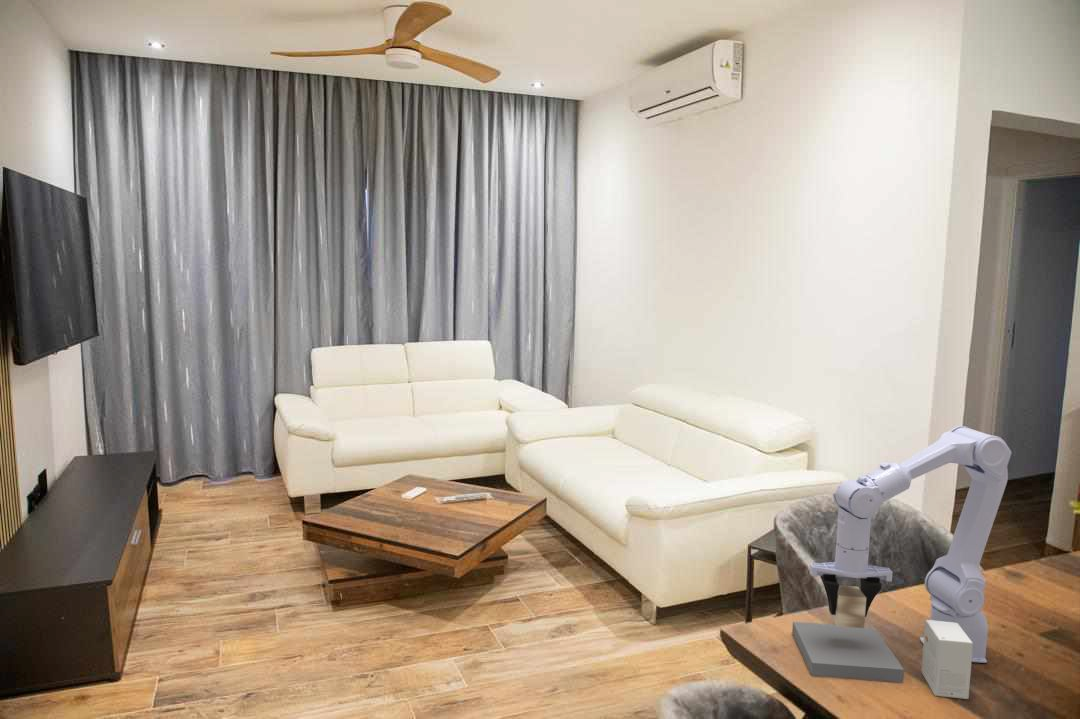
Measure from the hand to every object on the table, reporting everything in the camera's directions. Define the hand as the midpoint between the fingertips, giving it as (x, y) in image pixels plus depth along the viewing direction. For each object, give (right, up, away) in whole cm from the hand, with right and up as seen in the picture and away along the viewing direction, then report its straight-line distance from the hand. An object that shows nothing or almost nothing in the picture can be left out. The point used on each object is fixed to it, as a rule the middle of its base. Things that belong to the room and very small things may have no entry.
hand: (847, 613), depth 143 cm
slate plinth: (0, -9, +1) cm, 9 cm away
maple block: (0, -2, 0) cm, 2 cm away
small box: (+14, -10, -8) cm, 19 cm away
